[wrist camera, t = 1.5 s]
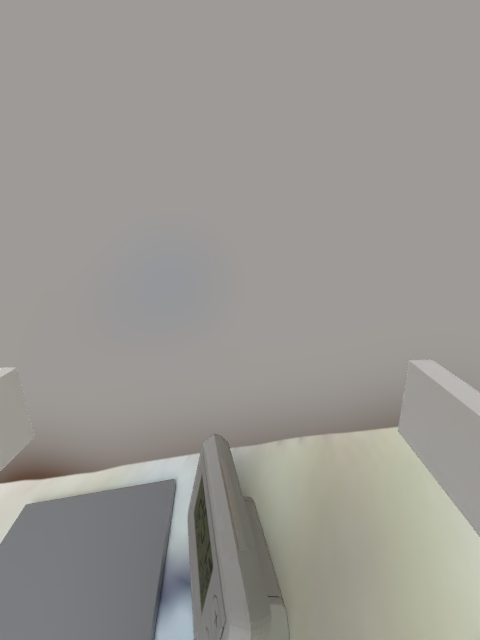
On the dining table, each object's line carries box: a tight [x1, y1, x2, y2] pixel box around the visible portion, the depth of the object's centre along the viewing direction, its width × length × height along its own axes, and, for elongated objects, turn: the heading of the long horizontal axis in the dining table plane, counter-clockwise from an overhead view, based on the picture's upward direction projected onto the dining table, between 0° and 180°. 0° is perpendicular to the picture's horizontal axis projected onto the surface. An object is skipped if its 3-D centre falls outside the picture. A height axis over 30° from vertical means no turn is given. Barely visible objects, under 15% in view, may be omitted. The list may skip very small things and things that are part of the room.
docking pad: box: [0, 479, 176, 640], centre depth 25 cm, size 18×24×1 cm
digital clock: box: [188, 434, 290, 640], centre depth 24 cm, size 16×9×11 cm, turn 1°
